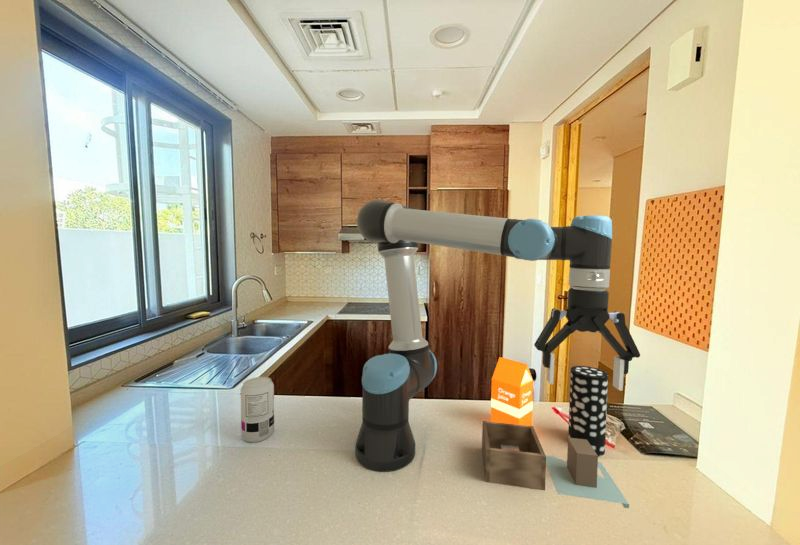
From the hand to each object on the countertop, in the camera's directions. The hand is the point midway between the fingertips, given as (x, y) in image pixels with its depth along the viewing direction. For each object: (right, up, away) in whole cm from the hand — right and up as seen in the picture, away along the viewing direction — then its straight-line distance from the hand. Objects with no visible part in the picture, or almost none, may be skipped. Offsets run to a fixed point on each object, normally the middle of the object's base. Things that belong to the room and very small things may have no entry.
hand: (582, 384), depth 68 cm
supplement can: (-79, -20, +17) cm, 84 cm away
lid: (0, -22, +1) cm, 22 cm away
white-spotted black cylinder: (+9, -21, +13) cm, 27 cm away
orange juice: (-8, -21, +22) cm, 31 cm away
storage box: (-15, -21, +4) cm, 26 cm away
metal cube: (-15, -20, +4) cm, 25 cm away
